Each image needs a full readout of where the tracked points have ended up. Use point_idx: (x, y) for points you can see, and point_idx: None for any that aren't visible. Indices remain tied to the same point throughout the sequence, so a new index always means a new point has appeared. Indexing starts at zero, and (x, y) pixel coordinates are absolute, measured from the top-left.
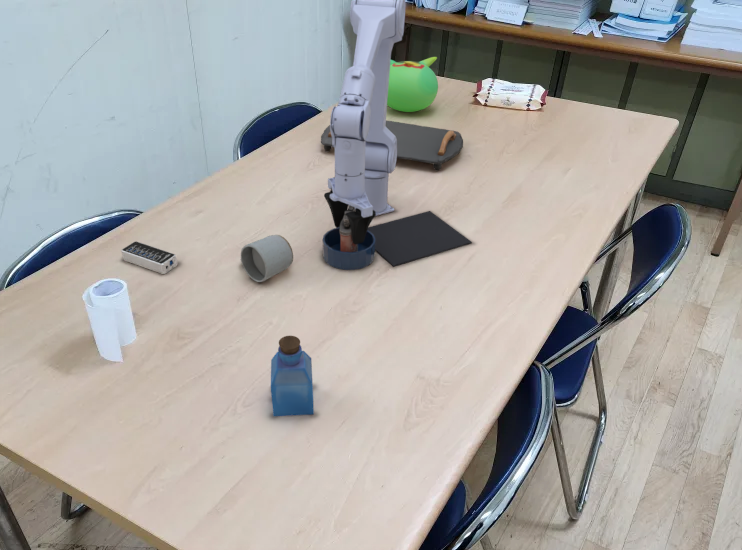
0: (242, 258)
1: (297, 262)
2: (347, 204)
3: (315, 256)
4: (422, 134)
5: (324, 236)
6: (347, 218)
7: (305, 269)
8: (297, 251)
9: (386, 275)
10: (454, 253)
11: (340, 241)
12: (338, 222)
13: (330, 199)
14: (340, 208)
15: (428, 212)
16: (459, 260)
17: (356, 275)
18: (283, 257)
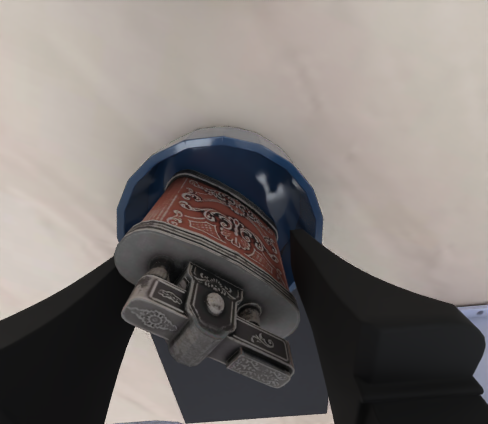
0: None
1: (253, 11)
2: (320, 359)
3: (266, 105)
4: None
5: (279, 162)
6: (135, 316)
7: (191, 25)
8: (331, 47)
9: (98, 259)
10: (160, 391)
11: (300, 216)
12: (295, 251)
13: (355, 335)
14: (319, 314)
15: (322, 410)
16: (132, 389)
17: (111, 189)
18: None
